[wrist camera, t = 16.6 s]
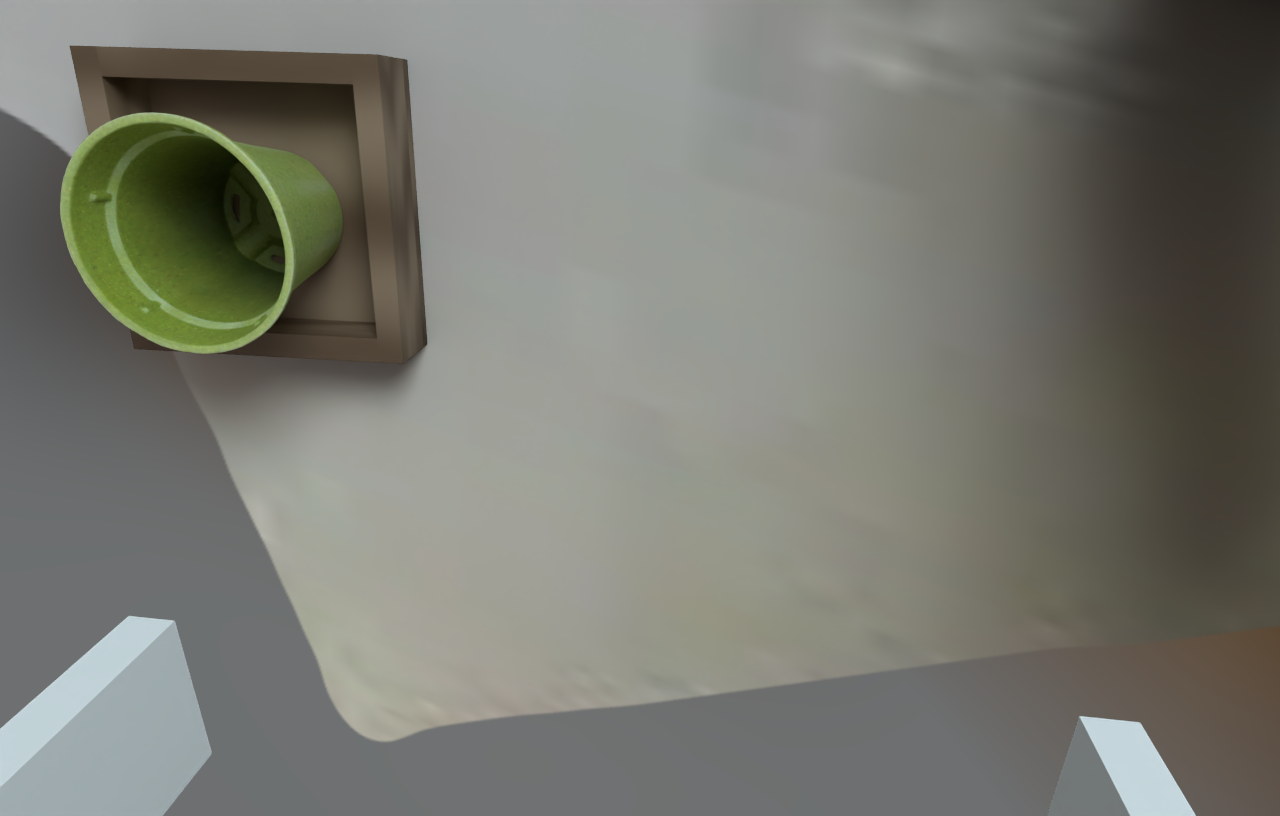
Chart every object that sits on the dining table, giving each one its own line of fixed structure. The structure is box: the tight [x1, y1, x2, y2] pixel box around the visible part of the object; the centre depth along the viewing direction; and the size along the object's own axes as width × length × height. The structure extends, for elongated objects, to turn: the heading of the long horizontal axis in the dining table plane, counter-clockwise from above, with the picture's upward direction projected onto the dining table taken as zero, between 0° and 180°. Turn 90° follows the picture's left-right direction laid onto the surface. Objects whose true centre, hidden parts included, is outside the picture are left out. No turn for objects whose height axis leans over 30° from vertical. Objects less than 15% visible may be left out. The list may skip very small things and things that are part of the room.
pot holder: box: [70, 46, 427, 364], centre depth 37 cm, size 14×14×4 cm
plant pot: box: [60, 113, 343, 354], centre depth 35 cm, size 9×9×9 cm
